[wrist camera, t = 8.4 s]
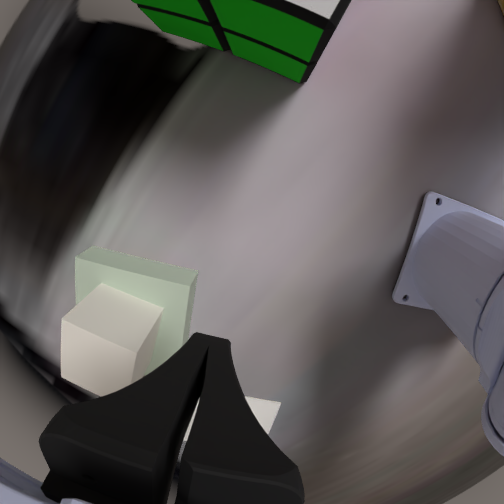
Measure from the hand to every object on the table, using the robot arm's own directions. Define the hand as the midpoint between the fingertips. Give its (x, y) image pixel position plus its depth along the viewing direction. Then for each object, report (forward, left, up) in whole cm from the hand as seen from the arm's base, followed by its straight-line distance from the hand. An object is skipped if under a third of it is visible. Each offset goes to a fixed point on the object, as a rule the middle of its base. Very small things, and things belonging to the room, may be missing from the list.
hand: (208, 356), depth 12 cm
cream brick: (+6, +5, -7) cm, 11 cm away
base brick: (+6, +5, -10) cm, 13 cm away
